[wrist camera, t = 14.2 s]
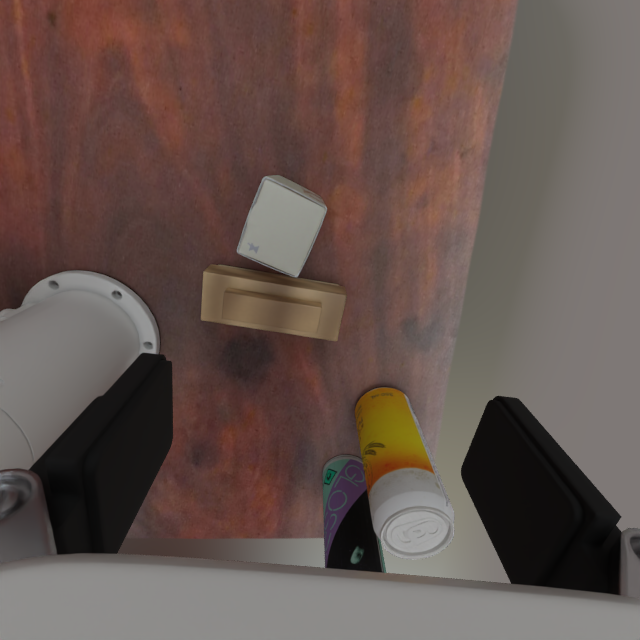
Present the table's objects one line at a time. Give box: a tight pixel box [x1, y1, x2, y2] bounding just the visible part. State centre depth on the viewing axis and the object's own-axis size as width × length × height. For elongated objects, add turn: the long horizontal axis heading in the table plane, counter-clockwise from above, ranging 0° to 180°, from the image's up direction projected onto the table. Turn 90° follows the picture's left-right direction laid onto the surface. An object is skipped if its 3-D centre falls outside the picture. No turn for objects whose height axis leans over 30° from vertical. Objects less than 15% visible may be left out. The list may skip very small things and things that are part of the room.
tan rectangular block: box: [201, 264, 347, 341], centre depth 32 cm, size 12×4×5 cm, turn 80°
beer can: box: [355, 387, 454, 559], centre depth 33 cm, size 6×6×15 cm
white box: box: [237, 175, 327, 277], centre depth 27 cm, size 5×4×10 cm
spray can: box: [323, 455, 386, 573], centre depth 34 cm, size 6×6×20 cm
